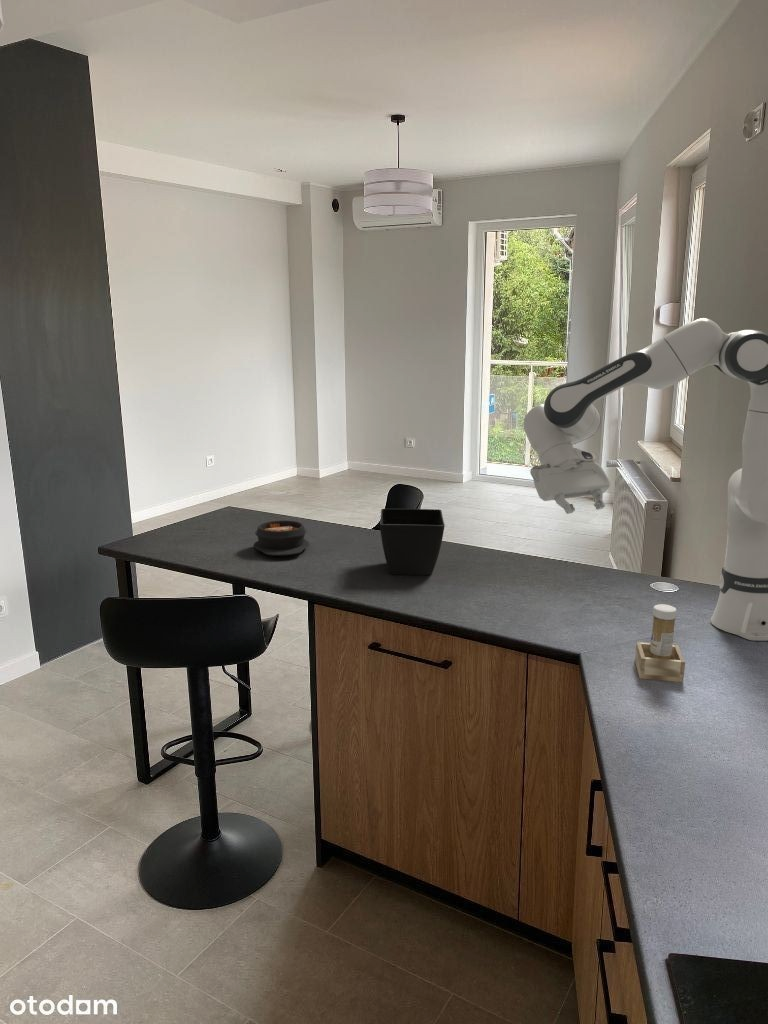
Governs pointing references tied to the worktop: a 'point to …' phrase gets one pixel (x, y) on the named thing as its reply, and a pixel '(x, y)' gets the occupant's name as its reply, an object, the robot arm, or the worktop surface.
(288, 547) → the casserole
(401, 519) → the flower pot
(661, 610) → the sprinkles bottle
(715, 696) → the worktop surface
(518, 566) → the worktop surface
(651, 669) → the box
